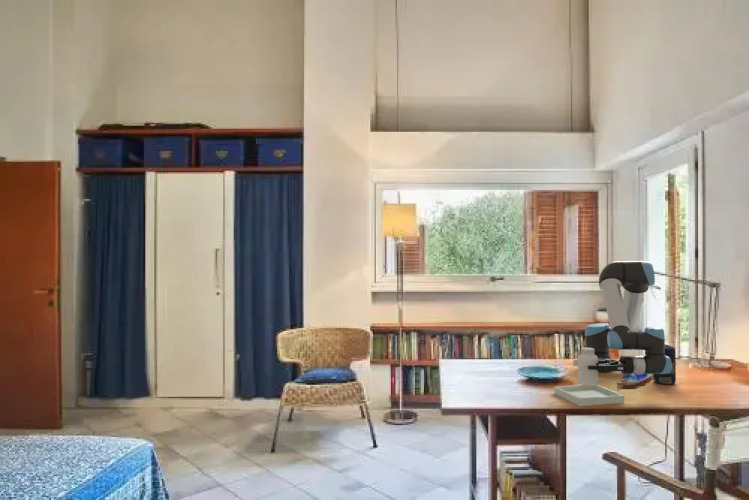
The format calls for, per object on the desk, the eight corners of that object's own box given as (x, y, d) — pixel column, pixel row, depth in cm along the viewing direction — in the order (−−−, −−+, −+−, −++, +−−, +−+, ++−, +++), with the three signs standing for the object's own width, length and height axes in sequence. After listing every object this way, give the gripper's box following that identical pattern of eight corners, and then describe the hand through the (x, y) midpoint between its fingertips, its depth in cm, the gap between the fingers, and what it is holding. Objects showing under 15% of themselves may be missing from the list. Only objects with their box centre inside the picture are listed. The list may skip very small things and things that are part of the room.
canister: (678, 385, 255) (678, 346, 254) (656, 385, 256) (655, 345, 256) (672, 380, 264) (671, 342, 264) (650, 379, 266) (650, 342, 266)
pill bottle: (588, 386, 232) (587, 350, 232) (573, 382, 239) (573, 347, 239) (602, 384, 235) (602, 349, 235) (588, 380, 242) (587, 346, 242)
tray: (554, 393, 245) (554, 386, 245) (595, 390, 249) (595, 383, 249) (579, 406, 225) (579, 398, 225) (624, 402, 229) (624, 395, 229)
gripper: (641, 379, 225) (583, 379, 227) (622, 368, 246) (569, 368, 247) (641, 361, 225) (583, 361, 227) (622, 351, 246) (569, 351, 247)
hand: (576, 364), depth 237 cm, fingers closed on pill bottle, 8 cm apart
